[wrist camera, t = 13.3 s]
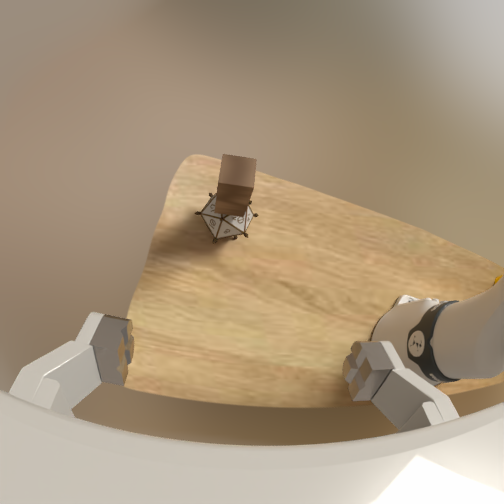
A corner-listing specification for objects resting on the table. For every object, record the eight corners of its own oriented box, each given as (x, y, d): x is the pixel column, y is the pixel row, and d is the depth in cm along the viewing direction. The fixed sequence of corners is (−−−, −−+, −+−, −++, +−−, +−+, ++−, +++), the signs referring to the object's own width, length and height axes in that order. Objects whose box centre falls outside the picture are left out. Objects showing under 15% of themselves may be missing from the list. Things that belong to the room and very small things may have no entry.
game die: (233, 228, 53) (278, 206, 47) (215, 263, 47) (263, 243, 41) (199, 190, 49) (241, 162, 43) (174, 223, 44) (219, 194, 37)
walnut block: (246, 191, 42) (256, 159, 35) (243, 217, 41) (253, 187, 34) (218, 187, 42) (222, 154, 34) (214, 213, 40) (218, 182, 33)
